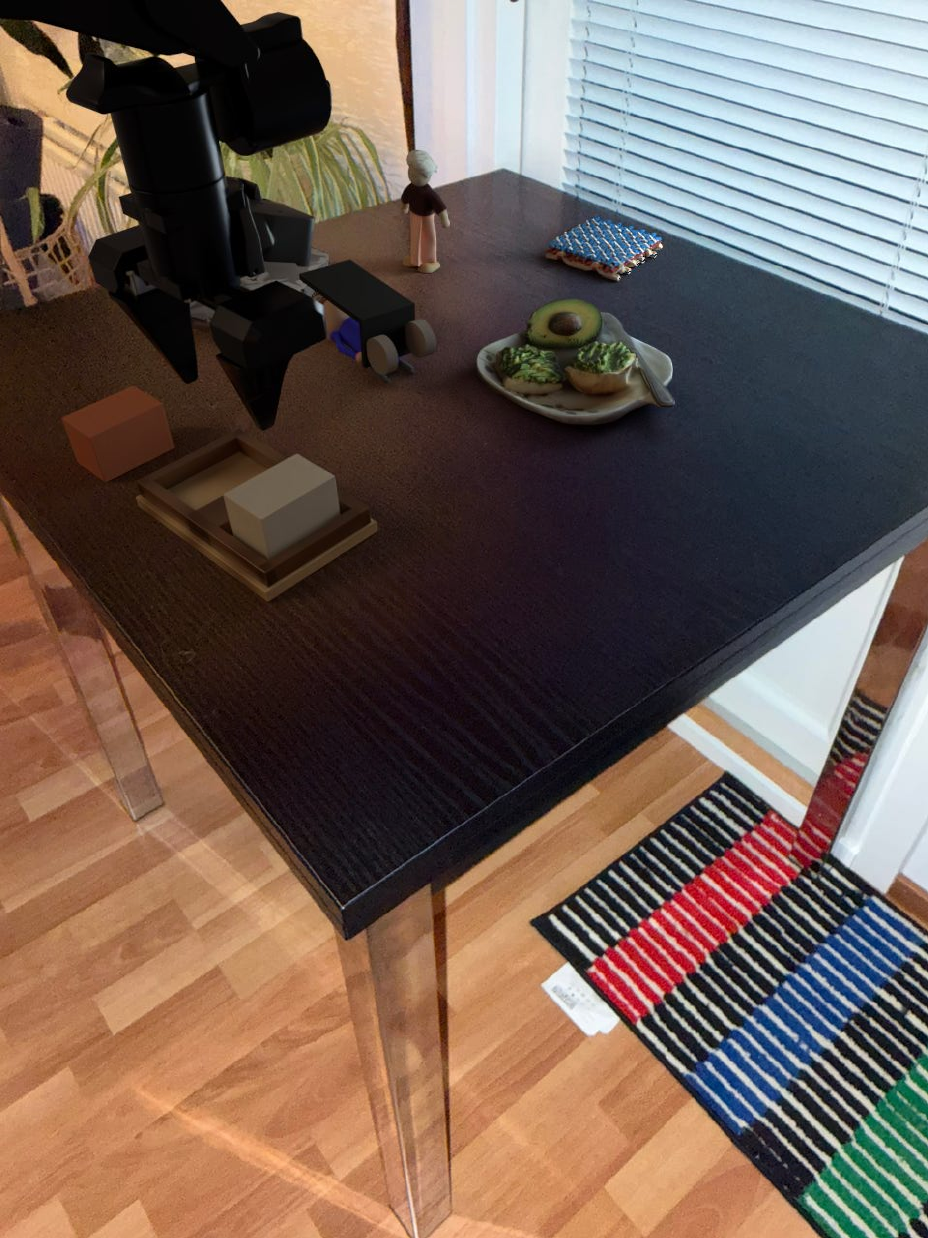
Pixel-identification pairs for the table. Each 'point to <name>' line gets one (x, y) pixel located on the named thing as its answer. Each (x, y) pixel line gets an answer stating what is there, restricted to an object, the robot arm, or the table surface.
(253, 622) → the table surface
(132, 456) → the orange rectangular block
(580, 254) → the woven mat
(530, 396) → the salad plate
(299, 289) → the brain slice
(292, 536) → the cream block
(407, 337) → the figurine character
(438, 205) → the grandmother figurine
